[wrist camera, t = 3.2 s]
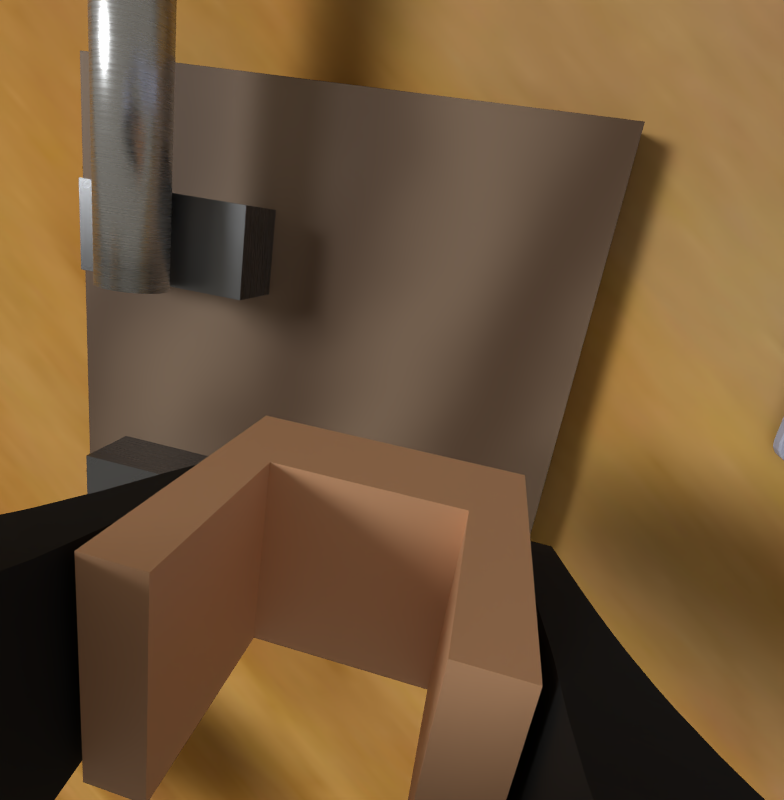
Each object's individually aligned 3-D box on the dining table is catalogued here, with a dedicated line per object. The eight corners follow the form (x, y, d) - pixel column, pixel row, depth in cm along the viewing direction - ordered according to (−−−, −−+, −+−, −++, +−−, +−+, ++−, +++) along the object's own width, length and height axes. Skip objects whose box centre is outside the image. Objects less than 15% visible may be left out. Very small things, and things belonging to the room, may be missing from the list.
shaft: (274, -255, 12) (164, -495, 8) (239, 294, 15) (152, 309, 12) (114, -259, 12) (-58, -482, 8) (118, 270, 16) (-1, 278, 12)
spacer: (524, 475, 9) (542, 686, 5) (483, 630, 10) (467, 921, 6) (266, 415, 10) (75, 551, 6) (253, 567, 11) (83, 781, 7)
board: (635, 130, 14) (644, 121, 13) (490, 659, 20) (489, 680, 19) (104, 61, 16) (79, 50, 15) (110, 551, 22) (92, 564, 21)
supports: (275, 210, 16) (245, 205, 14) (249, 529, 19) (222, 559, 17) (125, 184, 16) (79, 177, 14) (126, 496, 20) (88, 521, 18)
